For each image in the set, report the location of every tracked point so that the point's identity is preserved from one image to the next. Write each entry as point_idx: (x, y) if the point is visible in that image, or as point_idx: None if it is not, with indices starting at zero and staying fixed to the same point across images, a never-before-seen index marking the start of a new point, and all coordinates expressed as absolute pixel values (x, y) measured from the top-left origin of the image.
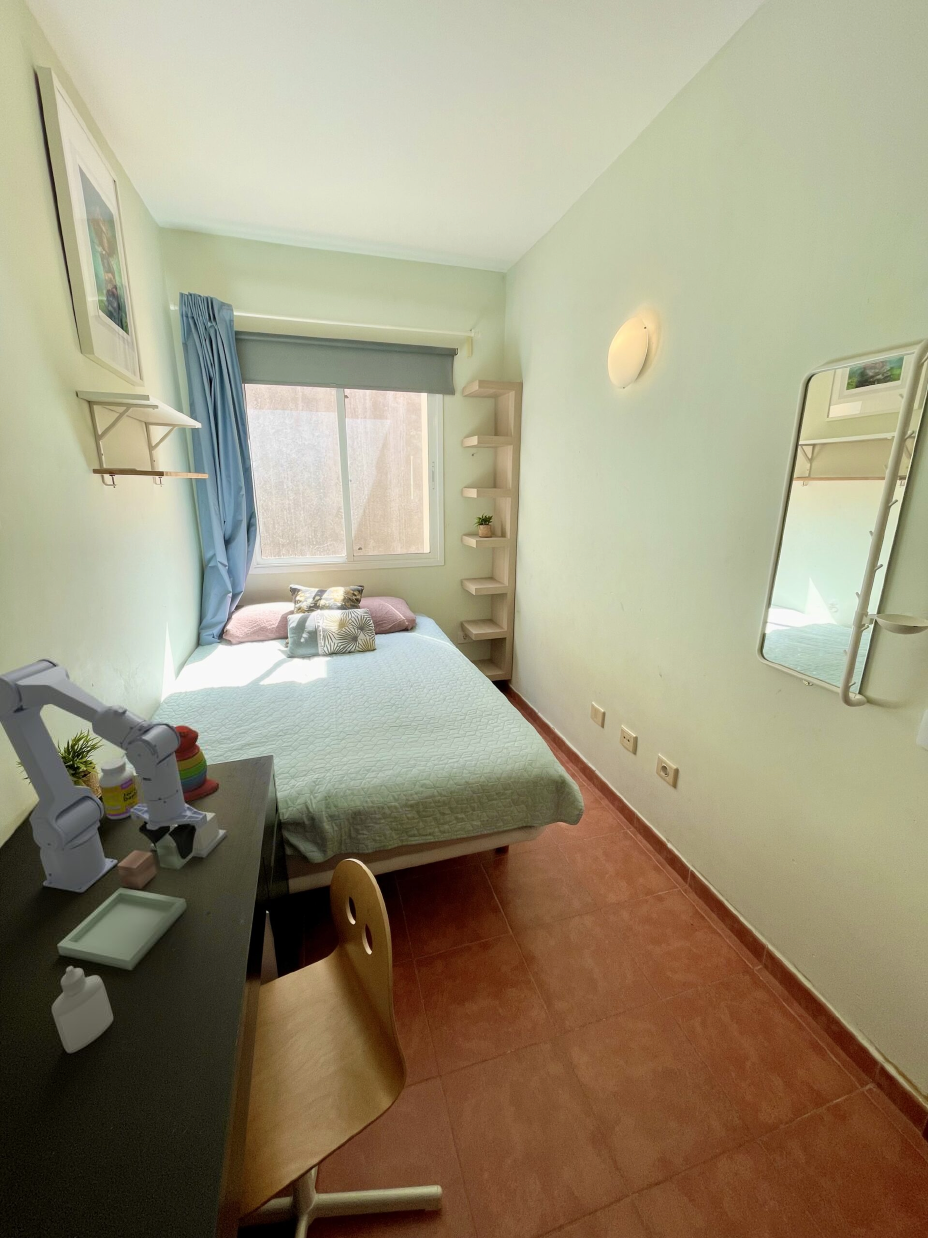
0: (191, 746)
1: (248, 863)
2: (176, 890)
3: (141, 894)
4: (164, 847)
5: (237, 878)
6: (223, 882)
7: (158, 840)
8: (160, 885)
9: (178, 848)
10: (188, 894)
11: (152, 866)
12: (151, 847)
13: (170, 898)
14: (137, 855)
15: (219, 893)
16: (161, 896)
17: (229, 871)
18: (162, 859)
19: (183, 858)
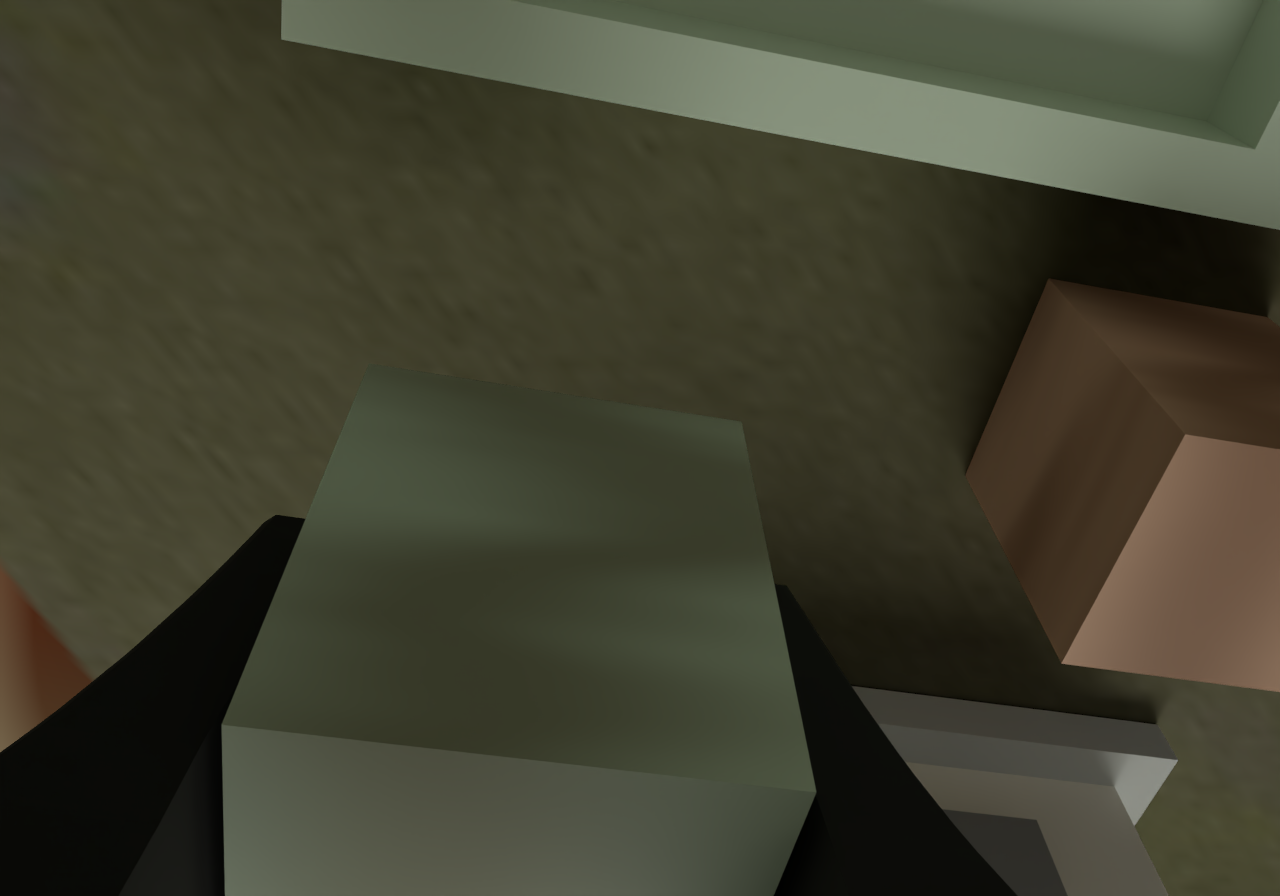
0: None
1: (68, 598)
2: (620, 270)
3: (949, 121)
4: (563, 710)
5: (31, 428)
6: (149, 377)
7: (802, 875)
8: (845, 334)
9: (199, 692)
10: (441, 216)
11: (1015, 523)
12: (1161, 740)
13: (499, 52)
14: (1240, 626)
15: (75, 232)
16: (647, 84)
17: (193, 508)
18: (684, 503)
19: (283, 527)
